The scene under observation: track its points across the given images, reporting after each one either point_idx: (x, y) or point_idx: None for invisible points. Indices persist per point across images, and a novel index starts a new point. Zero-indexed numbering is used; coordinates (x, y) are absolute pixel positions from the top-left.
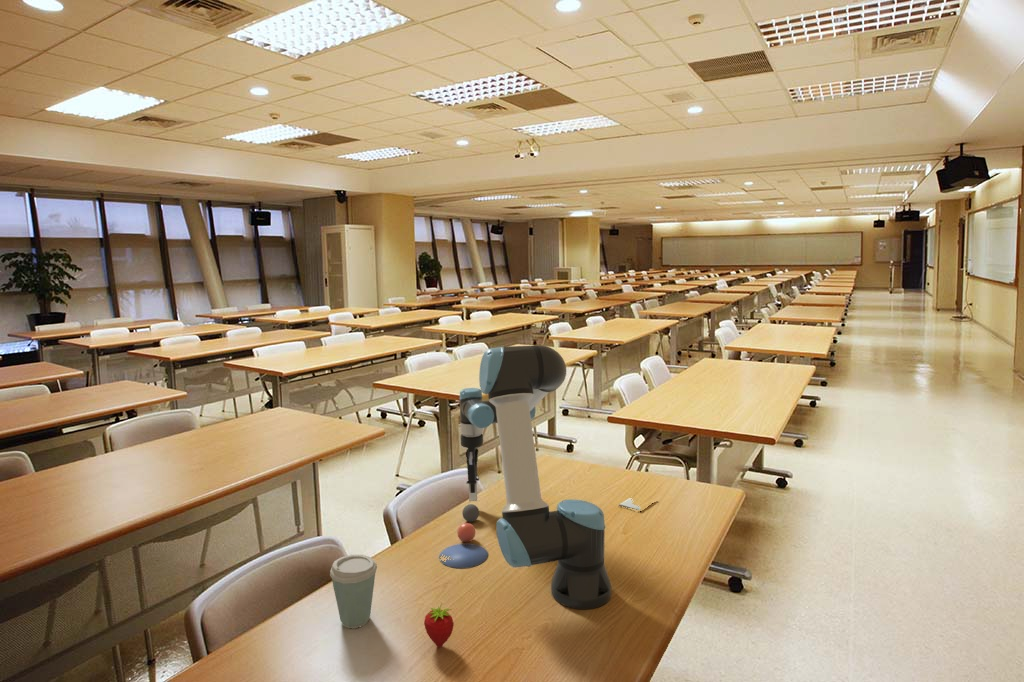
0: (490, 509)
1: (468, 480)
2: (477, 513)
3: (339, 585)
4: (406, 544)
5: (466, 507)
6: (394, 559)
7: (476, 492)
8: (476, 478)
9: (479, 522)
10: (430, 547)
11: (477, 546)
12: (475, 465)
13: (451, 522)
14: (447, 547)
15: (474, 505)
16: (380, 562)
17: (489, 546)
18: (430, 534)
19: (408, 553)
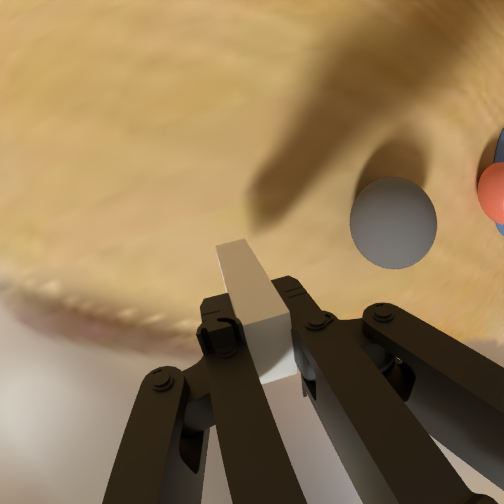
0: (217, 143)
1: (410, 374)
2: (414, 183)
3: None
4: (466, 330)
5: (427, 252)
6: (499, 314)
7: (260, 267)
8: (238, 353)
9: (379, 167)
10: (488, 272)
11: (501, 147)
12: (461, 488)
13: (379, 286)
14: (499, 229)
15: (417, 215)
16: (497, 328)
17: (495, 112)
18: (441, 307)
19: (492, 303)
